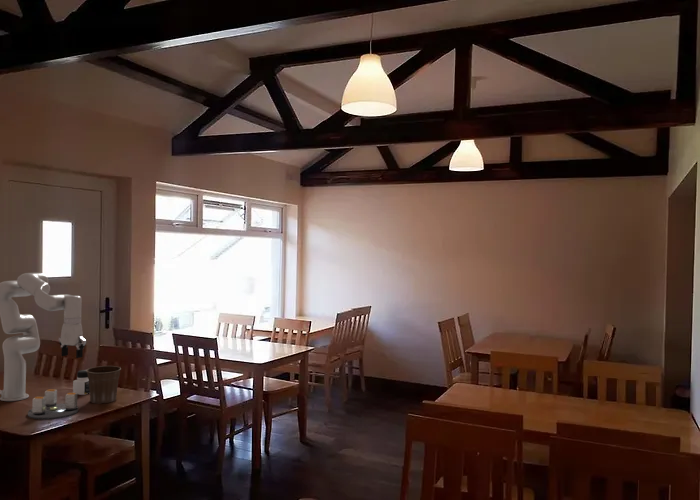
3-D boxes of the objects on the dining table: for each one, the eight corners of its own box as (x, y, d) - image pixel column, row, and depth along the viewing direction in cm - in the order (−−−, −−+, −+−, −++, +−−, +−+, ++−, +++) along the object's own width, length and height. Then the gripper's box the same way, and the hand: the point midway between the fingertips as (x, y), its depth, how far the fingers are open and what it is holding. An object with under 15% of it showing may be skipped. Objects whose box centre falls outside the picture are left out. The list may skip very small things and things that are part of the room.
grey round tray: (19, 419, 254) (19, 414, 254) (39, 406, 275) (39, 401, 275) (68, 419, 257) (69, 413, 257) (84, 406, 278) (84, 401, 278)
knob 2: (43, 406, 269) (43, 390, 269) (47, 403, 274) (48, 388, 274) (54, 406, 270) (54, 390, 270) (58, 403, 275) (58, 388, 275)
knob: (30, 414, 256) (31, 398, 256) (35, 411, 261) (36, 395, 261) (42, 414, 257) (42, 398, 257) (46, 411, 262) (47, 395, 262)
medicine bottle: (84, 395, 298) (85, 372, 298) (72, 394, 300) (73, 371, 300) (93, 391, 305) (93, 369, 305) (81, 391, 307) (82, 368, 307)
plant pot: (108, 406, 279) (109, 373, 279) (78, 403, 282) (79, 371, 282) (126, 397, 295) (127, 366, 295) (98, 395, 298) (98, 365, 298)
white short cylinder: (63, 410, 264) (64, 394, 264) (67, 407, 269) (68, 391, 269) (74, 410, 265) (75, 394, 265) (78, 407, 270) (79, 391, 270)
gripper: (53, 320, 274) (52, 356, 274) (79, 323, 267) (78, 359, 267) (66, 319, 281) (65, 353, 281) (92, 321, 274) (91, 356, 274)
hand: (71, 356), depth 274 cm, fingers open, 9 cm apart
